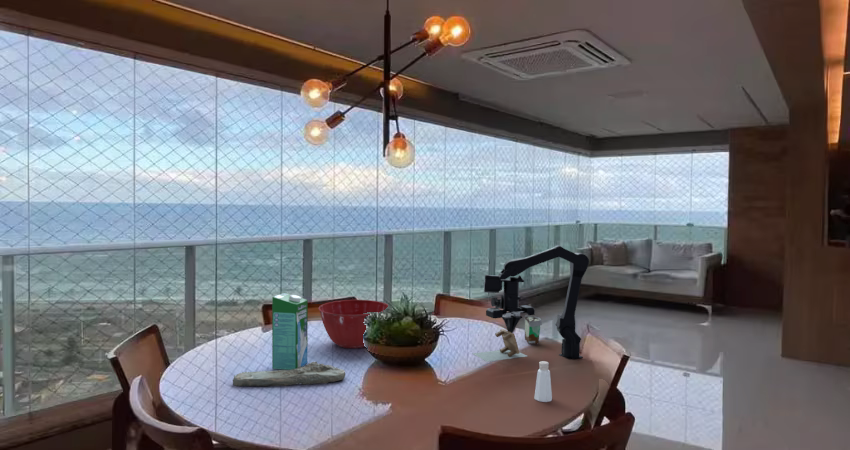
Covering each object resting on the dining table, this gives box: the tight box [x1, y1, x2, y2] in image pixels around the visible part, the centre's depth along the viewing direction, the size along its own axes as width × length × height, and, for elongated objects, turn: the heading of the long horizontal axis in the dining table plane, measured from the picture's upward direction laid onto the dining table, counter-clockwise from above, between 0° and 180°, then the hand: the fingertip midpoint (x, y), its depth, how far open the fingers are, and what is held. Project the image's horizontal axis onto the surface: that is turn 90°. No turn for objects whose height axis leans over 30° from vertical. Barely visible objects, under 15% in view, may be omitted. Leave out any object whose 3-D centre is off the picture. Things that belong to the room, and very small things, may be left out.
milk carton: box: [271, 292, 309, 370], centre depth 186 cm, size 9×9×25 cm
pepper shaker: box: [533, 360, 553, 403], centre depth 158 cm, size 5×5×11 cm
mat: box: [472, 349, 528, 363], centre depth 202 cm, size 11×18×1 cm, turn 115°
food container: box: [524, 314, 543, 345], centre depth 222 cm, size 12×6×10 cm, turn 179°
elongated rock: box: [232, 361, 346, 387], centre depth 171 cm, size 35×5×10 cm
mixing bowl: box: [318, 299, 389, 349], centre depth 216 cm, size 28×28×16 cm
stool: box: [494, 328, 520, 357], centre depth 203 cm, size 8×4×8 cm, turn 25°
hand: (510, 334), depth 203 cm, fingers closed
